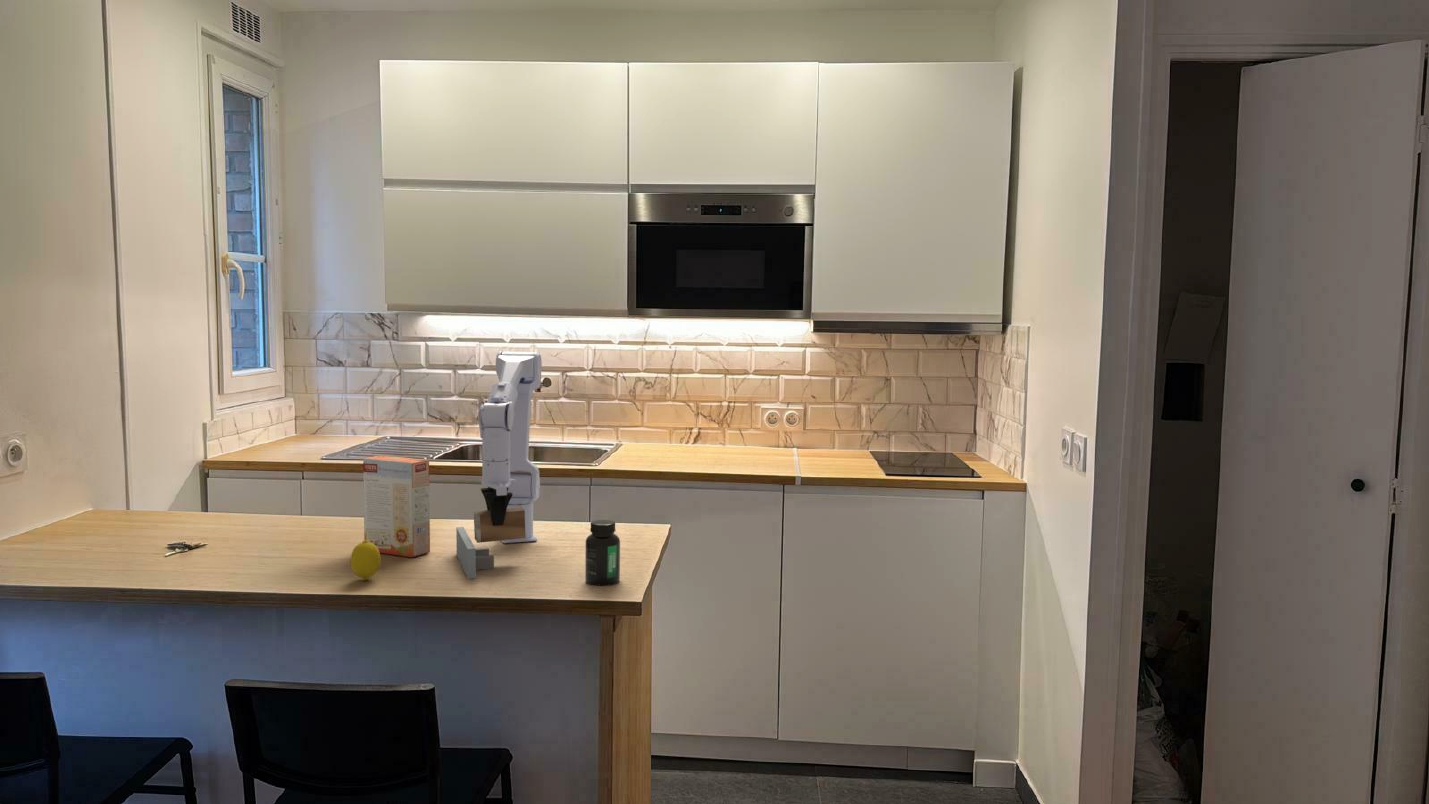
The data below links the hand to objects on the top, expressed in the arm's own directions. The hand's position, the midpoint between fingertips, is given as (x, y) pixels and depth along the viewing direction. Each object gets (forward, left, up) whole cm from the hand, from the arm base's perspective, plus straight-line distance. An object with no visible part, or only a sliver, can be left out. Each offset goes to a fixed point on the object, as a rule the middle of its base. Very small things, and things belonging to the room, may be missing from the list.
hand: (496, 523), depth 199 cm
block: (0, +1, -3) cm, 3 cm away
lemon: (+5, -26, -9) cm, 28 cm away
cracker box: (-16, -19, -9) cm, 27 cm away
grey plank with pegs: (0, -3, -9) cm, 9 cm away
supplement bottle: (+20, +18, -9) cm, 28 cm away
